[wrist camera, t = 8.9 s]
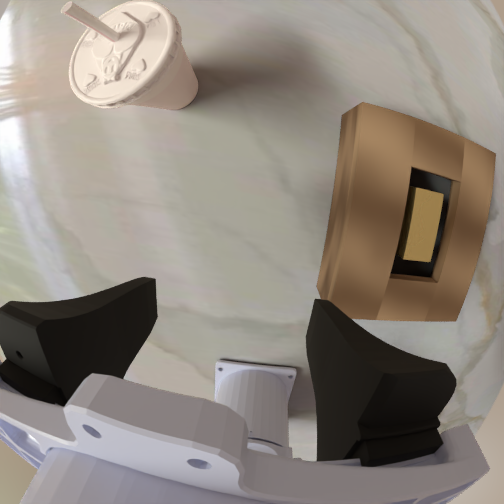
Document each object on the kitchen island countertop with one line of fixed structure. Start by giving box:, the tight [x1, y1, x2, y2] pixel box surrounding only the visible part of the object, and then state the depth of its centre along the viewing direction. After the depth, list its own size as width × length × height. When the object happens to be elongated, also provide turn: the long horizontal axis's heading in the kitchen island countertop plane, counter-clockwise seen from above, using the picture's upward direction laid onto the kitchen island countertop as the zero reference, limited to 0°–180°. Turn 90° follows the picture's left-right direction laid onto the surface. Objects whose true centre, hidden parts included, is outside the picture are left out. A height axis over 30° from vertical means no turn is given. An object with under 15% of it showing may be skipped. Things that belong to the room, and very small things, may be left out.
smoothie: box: [61, 0, 198, 110], centre depth 12 cm, size 6×6×14 cm
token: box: [396, 186, 444, 262], centre depth 18 cm, size 5×2×4 cm, turn 176°
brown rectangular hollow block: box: [317, 102, 496, 321], centre depth 18 cm, size 14×12×5 cm
